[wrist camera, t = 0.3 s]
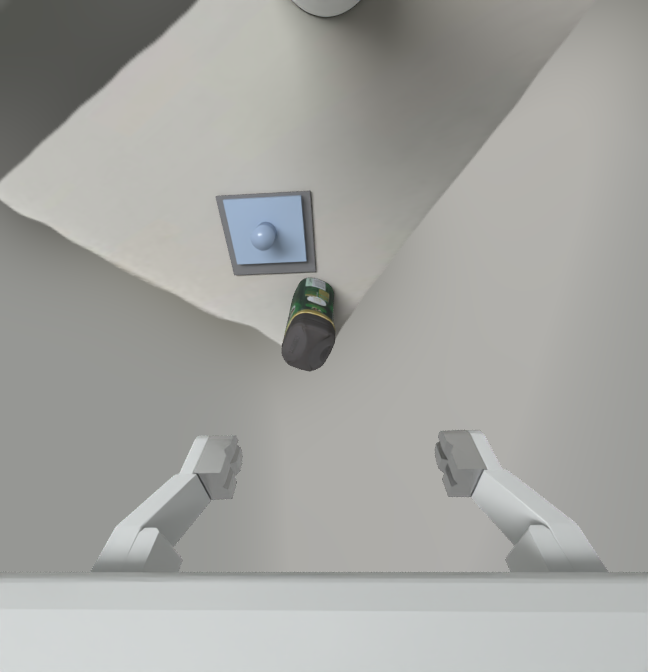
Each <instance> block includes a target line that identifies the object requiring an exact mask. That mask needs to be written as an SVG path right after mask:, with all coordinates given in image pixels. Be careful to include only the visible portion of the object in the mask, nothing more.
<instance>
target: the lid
mask: <svg viewBox="0 0 648 672" xmlns="http://www.w3.org/2000/svg"><path fill="white" fill-rule="evenodd" d="M223 203H224V208H225V212H226V217H227V221H228V225H229V230H230V234H231V239H232V243H233V247H234V252H235V256H236V261H237V264H259V263H281V262H304V261H307V256H306V244H305V233H304V221H303V209H302V198H301V195H292V196H273V197H255V198H237V199H224V200H223Z"/></svg>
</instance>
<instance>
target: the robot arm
mask: <svg viewBox="0 0 648 672" xmlns="http://www.w3.org/2000/svg"><path fill="white" fill-rule="evenodd" d="M292 1H293V2H294V3H295V4H296V5H297V6H299V7H300V8H301V9H303V10H304V11H306V12H308V13H311V14H313V15H317V16H323V17H330V16H335V15H339V14H342V13H344V12H346V11H348V10H349V9H351V8H352V7H353V6H355V5H356V4H357V3H358V2H359V1H360V0H292ZM438 438H439V442H438V443H436V447H435V458H436V462H437V465H438V468H439V469H440V470H441V471H442V472H443V473H444V475H443V478H442V480H443V483H444V486H445V489H446V492H447V495H448V496H449V497H471V499H472V500H473V501H474V502H475V503H476V504H477V505H478V506H479V507H480V509H481V510H482V511H483V512H484V513H485V514H486V515H487V516H488V517H489V518H490V519H491V520H492V522H493V523H494V524H495V525H496V526H497V527H498V528H499V529H500V530H501V531H502V532H503V533H504V534H505V536H506V537H507V538H508V539H509V540H510V541H511V542H512V543H513V544H514V545H515V546H514V547H513V549H512V550H511V551H510V553H509V554H508V555H507V557H506V559H505V560H506V562H507V565H508V567H509V569H510V572H179V569H180V565H181V563H182V558H181V556H180V555H179V554H178V552H177V551H176V550H175V549H174V548H173V547H174V545H175V544H176V543H177V542H178V541H179V540H180V538H181V537H182V536H183V535H184V533H185V532H186V531H187V530H188V529H189V527H190V526H191V525H192V524H193V522H194V521H195V520H196V519H197V518H198V516H199V515H200V514H201V513H202V512H203V510H204V509H205V508H206V507H207V505H208V504H209V503H210V502H211V500H216V499H232V498H233V494H234V491H235V487H236V484H237V481H236V479H235V476H236V475H237V474H238V473H239V472H240V469H241V465H242V450H241V447H239V446H238V445H237V443H238V439H237V437H236V436H198V437H197V438H196V439H195V441H194V443H193V445H192V447H191V449H190V451H189V454H188V456H187V458H186V460H185V462H184V464H183V467H182V469H181V471H180V473H179V474H175V475H174V476H173V477H172V478H171V479H169V480H168V481H167V482H166V483H165V484H164V485H163V486H162V487H161V488H159V489H158V490H157V491H156V492H155V493H154V494H153V495H151V496H150V497H149V498H148V499H147V500H146V501H145V502H143V503H142V504H141V505H140V506H139V507H138V508H137V509H135V510H134V511H133V512H132V513H131V514H130V515H129V516H127V518H125V519H124V520H123V521H122V522H121V523H120V524H118V525H117V526H116V527H115V529H114V531H113V533H112V535H111V536H110V538H109V540H108V542H107V543H106V545H105V547H104V549H103V551H102V552H101V554H100V556H99V558H98V559H97V561H96V563H95V565H94V566H93V568H92V570H91V572H0V672H648V572H608V570H607V569H606V567H605V566H604V564H603V563H602V562H601V560H600V558H599V557H598V555H597V554H596V552H595V551H594V549H593V548H592V546H591V545H590V543H589V541H588V540H587V538H586V537H585V535H584V534H583V532H582V531H581V529H580V528H579V526H578V525H577V524H576V523H575V522H574V521H572V520H571V519H570V518H569V517H568V516H566V515H565V514H564V513H562V512H561V511H560V510H559V509H557V508H556V507H555V506H553V505H552V504H551V503H550V502H548V501H547V500H546V499H544V498H543V497H542V496H541V495H539V494H538V493H537V492H536V491H534V490H533V489H532V488H530V487H529V486H528V485H527V484H525V483H524V482H523V481H521V480H520V479H519V478H518V477H516V476H515V475H514V474H512V473H511V472H510V471H509V470H507V469H505V470H504V469H503V468H502V466H501V464H500V463H499V461H498V459H497V457H496V455H495V453H494V452H493V450H492V448H491V446H490V444H489V442H488V441H487V439H486V437H485V435H484V433H483V432H482V431H481V430H453V431H440V432H439V435H438Z"/></svg>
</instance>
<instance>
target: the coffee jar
mask: <svg viewBox="0 0 648 672" xmlns="http://www.w3.org/2000/svg"><path fill="white" fill-rule="evenodd" d="M333 302H334V292H333V289H332V287H331V286H330V285H329V284H327V283H325V282H324V281H321V280H319V279H315V278H305V279H303V280H302V281H301V282H300V283H299V285H298V287H297V289H296V291H295V293H294V296H293V299H292V303H291V308H290V313H289V317H288V322H287V326H286V330H285V335H284V339H283V343H282V356H283V358H284V360H285V361H286V362H287V363H288V364H289V365H290V366H293V367H296V368H299V369H301V370H306V371H312V370H316V369H318V368H320V367H321V366H322V365H323V364H324V362H325V361H326V359H327V358H328V356H329V354H330V352H331V350H332V348H333V345H334V343H335V326H334V324H333Z"/></svg>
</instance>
